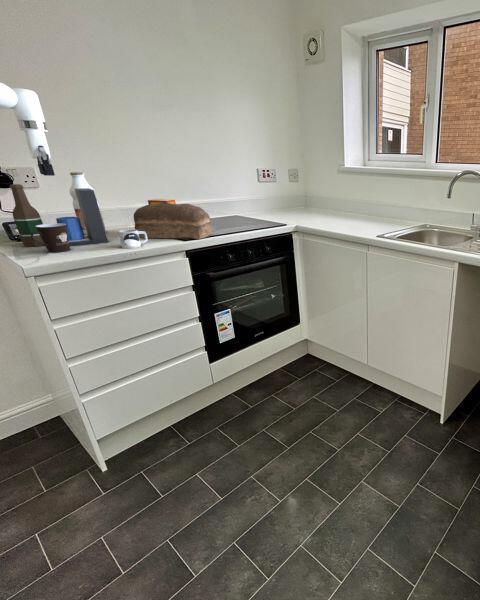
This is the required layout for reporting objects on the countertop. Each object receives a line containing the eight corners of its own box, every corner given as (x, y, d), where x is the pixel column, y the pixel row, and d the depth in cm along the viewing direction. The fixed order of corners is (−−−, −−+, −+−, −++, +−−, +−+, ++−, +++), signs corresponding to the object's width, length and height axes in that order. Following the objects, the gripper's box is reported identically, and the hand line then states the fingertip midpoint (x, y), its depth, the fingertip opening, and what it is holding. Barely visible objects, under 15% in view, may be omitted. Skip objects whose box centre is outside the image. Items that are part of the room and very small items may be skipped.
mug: (126, 249, 144) (121, 232, 142) (118, 246, 147) (114, 230, 145) (152, 245, 152) (149, 229, 149) (145, 242, 155) (141, 227, 153)
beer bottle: (50, 242, 150) (30, 183, 142) (49, 245, 145) (28, 185, 136) (24, 244, 146) (2, 183, 137) (22, 248, 140) (-1, 185, 131)
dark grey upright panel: (59, 247, 143) (41, 191, 135) (55, 242, 151) (38, 189, 143) (108, 242, 154) (94, 190, 146) (103, 237, 162) (89, 188, 154)
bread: (203, 240, 164) (197, 205, 159) (132, 238, 162) (123, 203, 157) (216, 234, 178) (211, 202, 172) (151, 232, 176) (144, 200, 170)
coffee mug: (68, 247, 144) (61, 222, 140) (77, 250, 139) (69, 225, 136) (30, 252, 134) (20, 226, 131) (38, 255, 130) (29, 229, 126)
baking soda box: (180, 230, 184) (174, 198, 179) (173, 232, 178) (166, 200, 173) (162, 229, 185) (156, 198, 179) (154, 231, 178) (147, 199, 173)
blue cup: (63, 241, 145) (56, 219, 142) (61, 238, 150) (54, 217, 147) (86, 239, 150) (79, 218, 147) (83, 236, 155) (77, 216, 152)
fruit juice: (94, 235, 165) (76, 172, 155) (76, 234, 166) (57, 172, 156) (111, 232, 174) (95, 172, 164) (94, 231, 175) (77, 171, 165)
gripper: (17, 126, 134) (32, 173, 140) (20, 124, 123) (36, 175, 129) (44, 128, 139) (57, 174, 145) (49, 126, 128) (63, 176, 135)
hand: (47, 174), depth 137 cm, fingers open, 9 cm apart
